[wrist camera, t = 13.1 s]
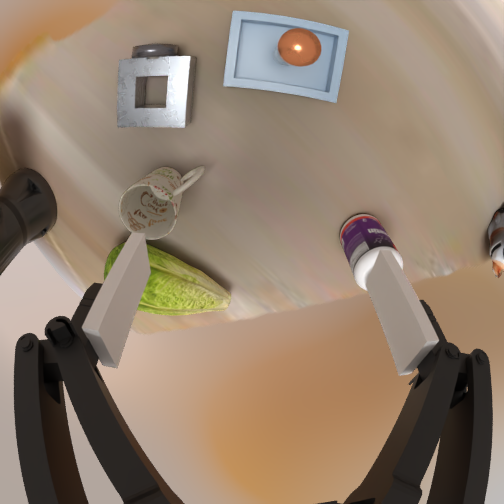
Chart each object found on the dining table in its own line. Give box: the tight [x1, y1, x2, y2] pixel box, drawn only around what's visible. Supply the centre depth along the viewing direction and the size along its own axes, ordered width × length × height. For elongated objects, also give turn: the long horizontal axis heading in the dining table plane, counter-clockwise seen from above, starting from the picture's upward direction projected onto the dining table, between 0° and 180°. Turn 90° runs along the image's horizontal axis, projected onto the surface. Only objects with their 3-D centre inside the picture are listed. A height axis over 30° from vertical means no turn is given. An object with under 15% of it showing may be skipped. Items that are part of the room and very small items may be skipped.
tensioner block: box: [117, 44, 196, 128], centre depth 31 cm, size 10×12×6 cm
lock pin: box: [273, 28, 322, 67], centre depth 26 cm, size 4×4×13 cm
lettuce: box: [104, 243, 231, 315], centre depth 50 cm, size 12×24×13 cm
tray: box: [223, 11, 349, 103], centre depth 30 cm, size 15×11×3 cm
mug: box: [119, 166, 205, 240], centre depth 39 cm, size 8×13×10 cm, turn 121°
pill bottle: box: [340, 214, 403, 291], centre depth 42 cm, size 8×8×14 cm
